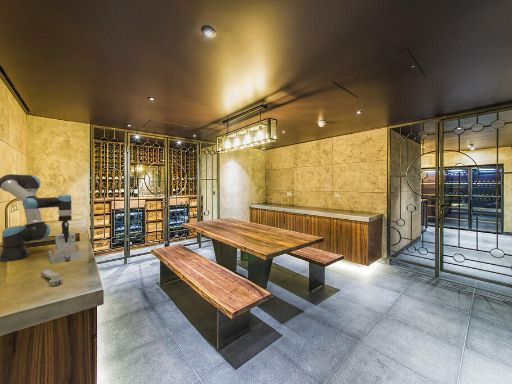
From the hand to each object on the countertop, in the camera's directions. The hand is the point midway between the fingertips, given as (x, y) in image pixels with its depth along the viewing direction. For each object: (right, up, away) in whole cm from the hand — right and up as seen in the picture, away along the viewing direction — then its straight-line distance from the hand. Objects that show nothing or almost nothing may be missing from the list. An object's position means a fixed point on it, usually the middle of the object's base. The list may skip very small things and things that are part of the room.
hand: (65, 245), depth 170 cm
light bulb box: (0, -2, 0) cm, 2 cm away
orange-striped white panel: (+1, -9, -1) cm, 9 cm away
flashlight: (+26, -11, -41) cm, 50 cm away
